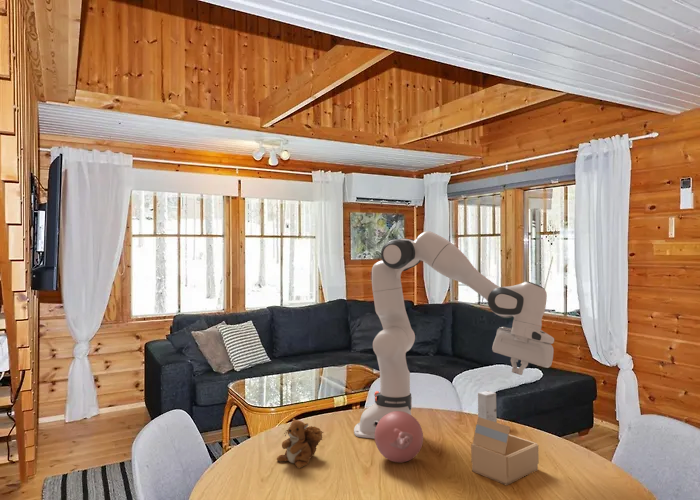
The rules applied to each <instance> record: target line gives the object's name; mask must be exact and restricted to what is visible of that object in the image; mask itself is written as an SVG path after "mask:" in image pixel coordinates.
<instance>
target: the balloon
mask: <svg viewBox="0 0 700 500" xmlns="http://www.w3.org/2000/svg"><path fill="white" fill-rule="evenodd" d="M374 441H375V445H376V448H377V449H378V451H379V453H380V454H381V455H382V456H383V457H384V458H385V459H387V460H389V461H391V462H392V463H399V464H401V463H405V462H409V461H411V460H412V459H414V458H416V456H417V455H418V454H419V453H420V451H421V449H422V446H423V443H424V432H423V429H422V427H421V424H420V422H419V421H418V419H416V417H414V416H413V415H412V414H411V415H410V414H408V413H406V412H402V411H394V412H390V413H388V414H386V415H385V416H383V417H382V418H381V419H380V421H379V422H378V424H377V426H376V429H375V439H374Z"/></svg>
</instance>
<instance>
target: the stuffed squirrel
mask: <svg viewBox="0 0 700 500" xmlns="http://www.w3.org/2000/svg"><path fill="white" fill-rule="evenodd" d="M283 434H284V435H285V436H284V437H287V435H288V438H286V440H283V441H282V443H281V448H282V449H283V450H285V453H284V454H279V455H278V456H277V458H276V461H277V462H278V461H285V462H289V463H291V464H295V466H296V468H297V469H301V467H302V468H303V466H304V467H306V466H307V465H309V463H310V460H311V458H310V457H313V456H314V455H315V454H316V452H317V449H318V448H317V446H319V443H320V442H321V441H323V438H324V437H323V434H324V431H322V430H321V429H320V428H319V427H317V426H312V425H310V426H309V423H304V422H303V421H301V420H298V419H296V418H293V419H292V422H291V423H290V426H289V427H288V428H287V430H285V431H284V433H283Z"/></svg>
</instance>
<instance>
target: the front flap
mask: <svg viewBox="0 0 700 500" xmlns="http://www.w3.org/2000/svg"><path fill="white" fill-rule="evenodd" d="M510 430H511V426H508V425H505V424H502V423H500V422H497V423H496V422H493V421H490V420H487V419H483V418H480V417H478V416H477V421H476V425H475V430H474V436H473V441H472V444H473V443H474V444H477V445H479V446H482V447H485V448H488V449H490V450H493V451H496V452H499V453H502V454H505V453H506V447H507V442H508V437H509V434H510Z"/></svg>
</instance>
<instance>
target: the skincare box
mask: <svg viewBox="0 0 700 500" xmlns="http://www.w3.org/2000/svg"><path fill="white" fill-rule="evenodd" d="M477 414H478V415H477V418H478V417H480V418H483V419H487V420H490V421H493V422H496V423H498V421H497V418H498V417H497V393H496V392H494V391H490V390H486V391H479V392H477Z"/></svg>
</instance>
